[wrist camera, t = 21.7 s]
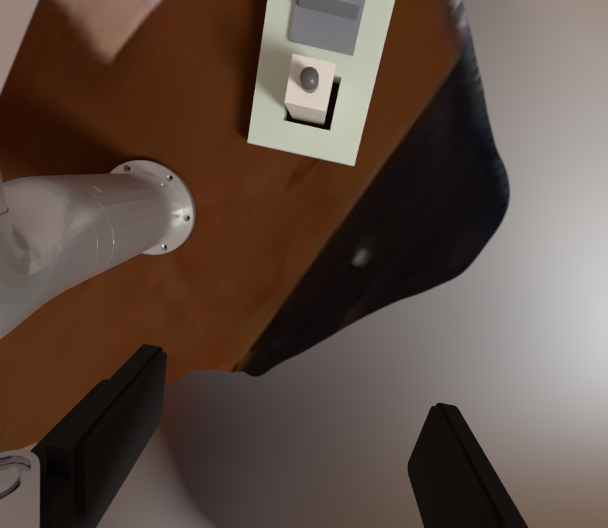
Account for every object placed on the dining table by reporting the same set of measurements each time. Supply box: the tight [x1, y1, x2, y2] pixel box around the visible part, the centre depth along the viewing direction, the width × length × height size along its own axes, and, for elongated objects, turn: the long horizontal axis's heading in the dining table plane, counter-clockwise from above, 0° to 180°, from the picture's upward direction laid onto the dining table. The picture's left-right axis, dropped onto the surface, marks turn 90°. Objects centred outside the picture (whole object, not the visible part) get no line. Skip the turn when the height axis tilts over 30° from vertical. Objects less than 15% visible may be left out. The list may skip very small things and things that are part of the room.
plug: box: [285, 54, 336, 125], centre depth 32 cm, size 4×4×12 cm
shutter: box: [289, 0, 365, 56], centre depth 31 cm, size 7×7×4 cm
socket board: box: [248, 0, 395, 166], centre depth 35 cm, size 13×20×3 cm, turn 168°
